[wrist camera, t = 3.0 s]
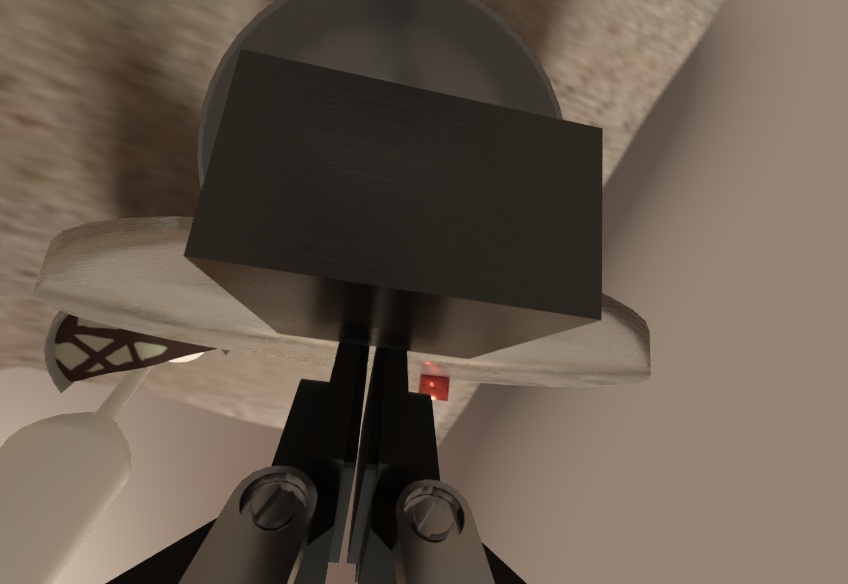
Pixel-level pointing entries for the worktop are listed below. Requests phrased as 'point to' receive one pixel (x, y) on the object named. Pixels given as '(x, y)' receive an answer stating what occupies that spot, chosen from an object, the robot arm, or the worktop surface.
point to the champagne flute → (61, 484)
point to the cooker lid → (372, 238)
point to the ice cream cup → (104, 350)
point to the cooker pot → (391, 52)
